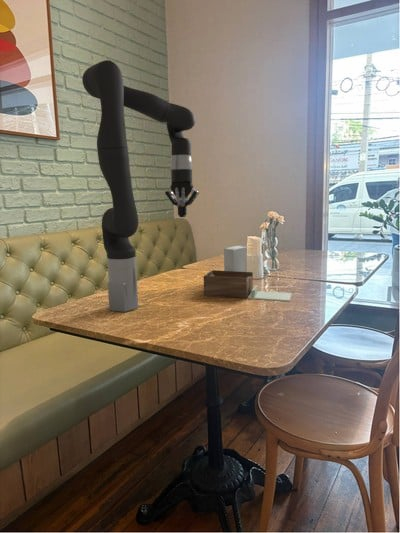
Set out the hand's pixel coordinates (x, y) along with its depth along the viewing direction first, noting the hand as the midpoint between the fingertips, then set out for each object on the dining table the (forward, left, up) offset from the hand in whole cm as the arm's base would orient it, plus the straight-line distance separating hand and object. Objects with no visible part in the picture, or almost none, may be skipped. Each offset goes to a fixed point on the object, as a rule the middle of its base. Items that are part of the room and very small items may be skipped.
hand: (182, 217), depth 145 cm
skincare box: (+22, -15, -29) cm, 39 cm away
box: (+3, -17, -29) cm, 33 cm away
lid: (+3, -32, -29) cm, 44 cm away
